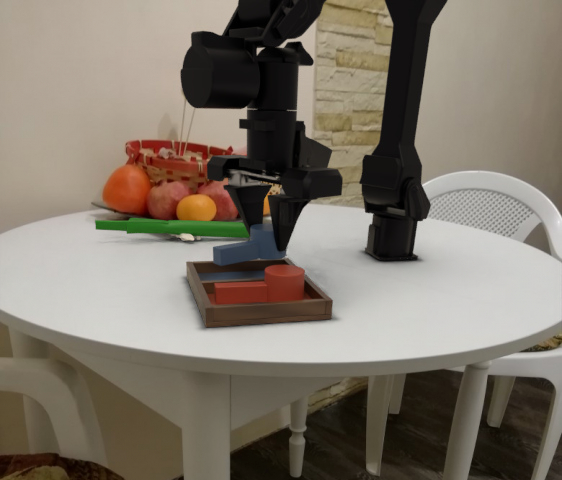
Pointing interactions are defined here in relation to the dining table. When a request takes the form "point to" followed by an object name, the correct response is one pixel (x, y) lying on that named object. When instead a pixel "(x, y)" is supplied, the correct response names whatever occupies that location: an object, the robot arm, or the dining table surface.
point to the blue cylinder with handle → (250, 247)
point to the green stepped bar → (177, 228)
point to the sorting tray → (217, 315)
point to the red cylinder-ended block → (264, 287)
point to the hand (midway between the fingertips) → (268, 247)
